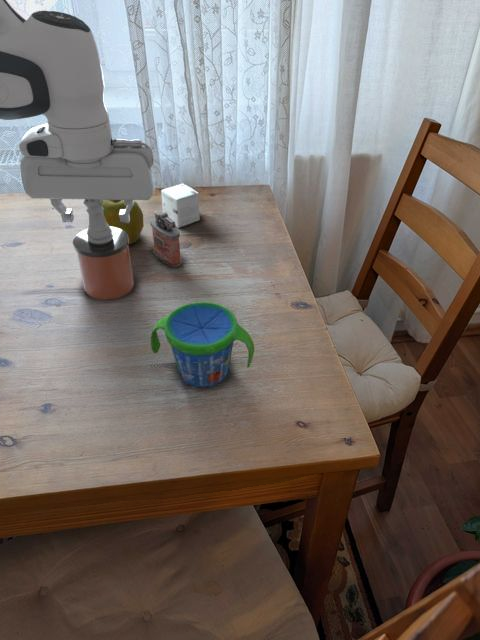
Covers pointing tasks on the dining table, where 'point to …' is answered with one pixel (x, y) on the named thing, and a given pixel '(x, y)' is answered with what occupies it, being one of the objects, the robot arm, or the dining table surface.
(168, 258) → the lighter
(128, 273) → the canister
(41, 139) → the robot arm
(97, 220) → the rook chess piece
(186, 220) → the white cardboard box
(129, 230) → the apple
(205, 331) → the snack cup
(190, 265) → the dining table surface
